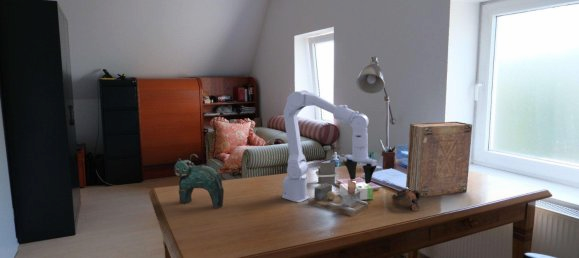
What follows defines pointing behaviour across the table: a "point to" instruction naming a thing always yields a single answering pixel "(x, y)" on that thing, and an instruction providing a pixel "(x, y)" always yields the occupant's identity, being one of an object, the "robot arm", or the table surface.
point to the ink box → (364, 189)
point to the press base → (334, 201)
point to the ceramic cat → (198, 181)
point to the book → (438, 158)
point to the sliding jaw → (351, 195)
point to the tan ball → (331, 195)
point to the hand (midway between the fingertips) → (360, 181)
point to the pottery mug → (412, 196)
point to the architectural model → (326, 173)
